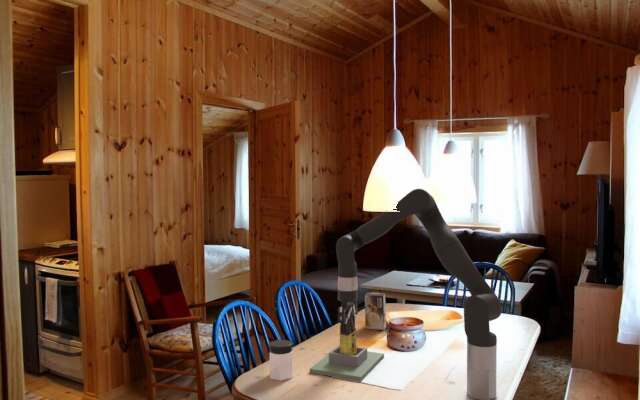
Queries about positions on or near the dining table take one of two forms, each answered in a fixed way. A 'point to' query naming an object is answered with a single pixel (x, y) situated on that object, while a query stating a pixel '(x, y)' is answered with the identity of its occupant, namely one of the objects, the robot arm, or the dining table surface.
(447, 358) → the dining table surface
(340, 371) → the deck plate
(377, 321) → the coffee box
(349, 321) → the sauce bottle
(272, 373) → the jar
